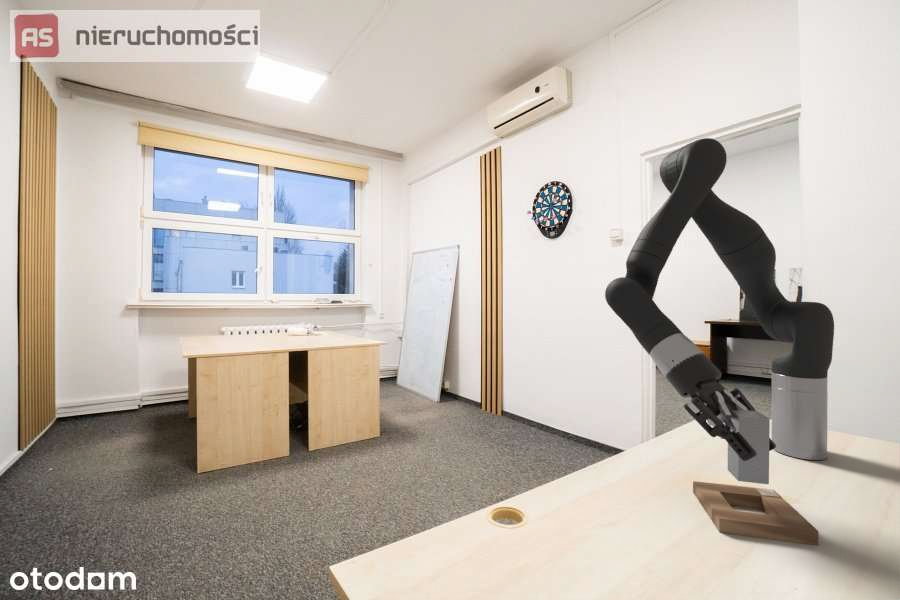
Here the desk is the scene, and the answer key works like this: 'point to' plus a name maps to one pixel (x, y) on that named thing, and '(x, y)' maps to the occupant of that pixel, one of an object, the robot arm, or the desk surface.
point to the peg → (757, 436)
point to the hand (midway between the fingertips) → (760, 453)
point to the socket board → (772, 525)
